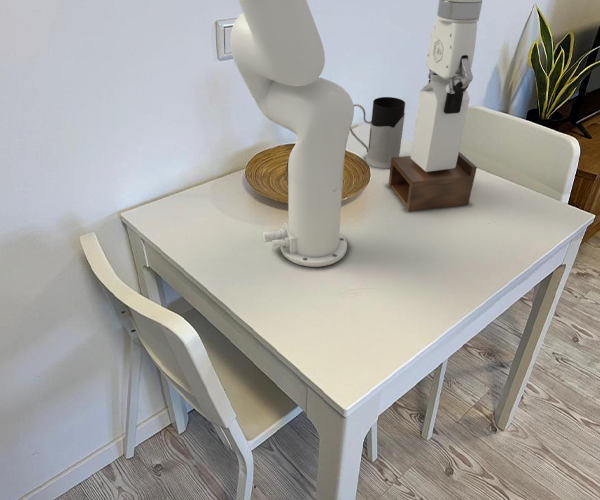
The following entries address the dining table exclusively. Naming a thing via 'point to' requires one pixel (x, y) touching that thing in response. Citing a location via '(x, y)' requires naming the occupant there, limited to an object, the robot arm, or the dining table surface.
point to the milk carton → (437, 127)
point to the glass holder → (384, 131)
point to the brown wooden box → (431, 184)
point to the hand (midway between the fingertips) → (442, 105)
